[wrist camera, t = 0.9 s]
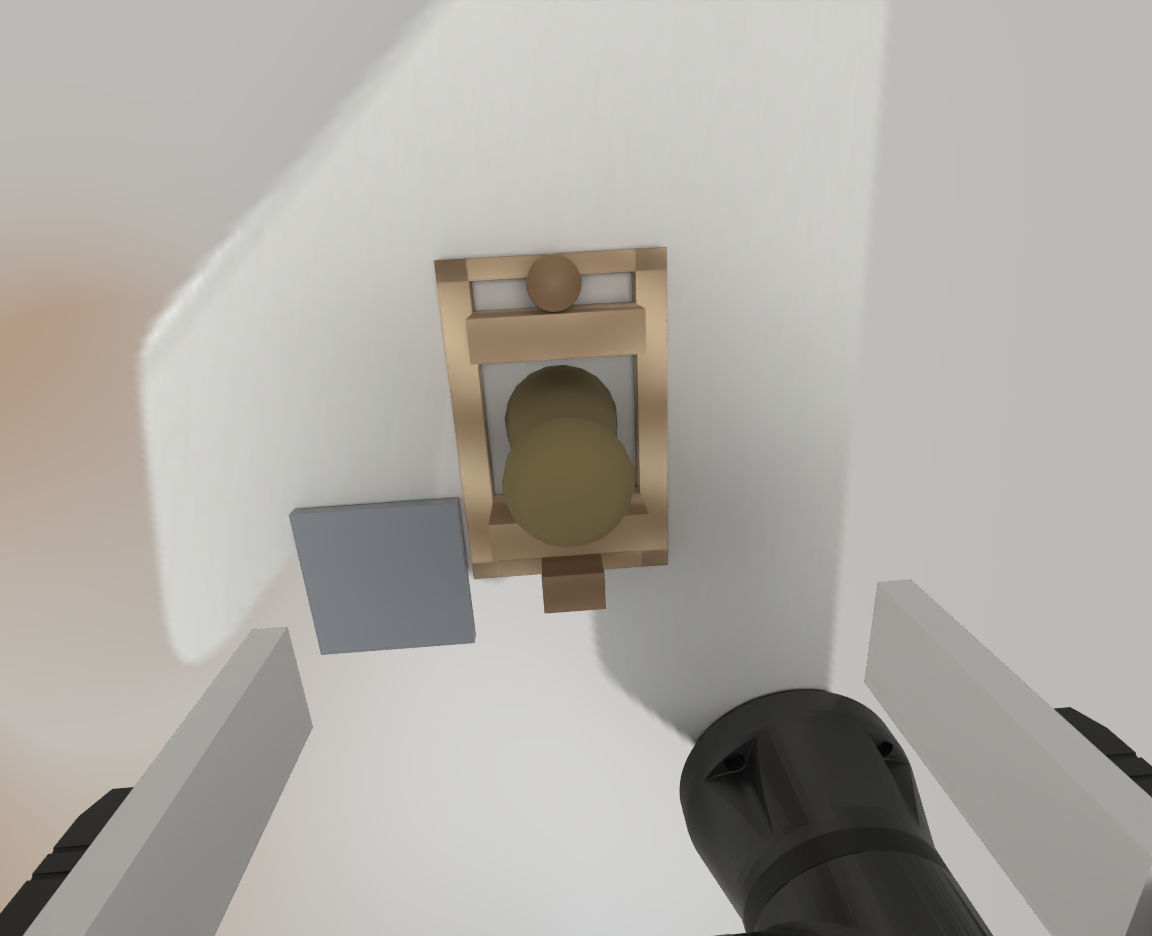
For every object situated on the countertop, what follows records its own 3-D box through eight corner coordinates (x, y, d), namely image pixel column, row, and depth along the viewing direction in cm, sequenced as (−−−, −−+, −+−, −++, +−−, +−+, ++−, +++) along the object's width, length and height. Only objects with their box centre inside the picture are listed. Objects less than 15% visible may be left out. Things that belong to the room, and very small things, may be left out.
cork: (578, 342, 32) (596, 387, 21) (638, 435, 34) (681, 519, 23) (482, 405, 33) (454, 478, 22) (545, 493, 34) (548, 598, 24)
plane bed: (663, 554, 36) (686, 611, 30) (476, 568, 36) (463, 628, 30) (661, 247, 30) (689, 246, 25) (438, 260, 30) (414, 262, 24)
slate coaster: (475, 634, 37) (474, 642, 36) (325, 646, 37) (321, 654, 36) (458, 497, 34) (456, 503, 33) (294, 509, 34) (288, 515, 33)
